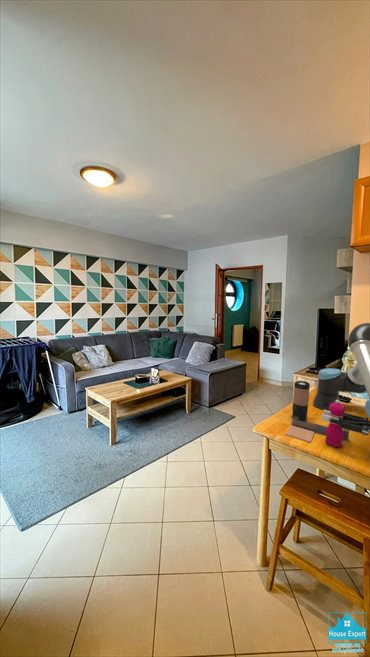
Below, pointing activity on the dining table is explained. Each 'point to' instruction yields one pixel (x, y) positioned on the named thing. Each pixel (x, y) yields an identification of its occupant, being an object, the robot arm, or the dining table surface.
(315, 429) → the handrail
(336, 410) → the pepper mill
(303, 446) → the dining table surface
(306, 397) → the travel mug
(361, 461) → the dining table surface
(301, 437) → the end tile
